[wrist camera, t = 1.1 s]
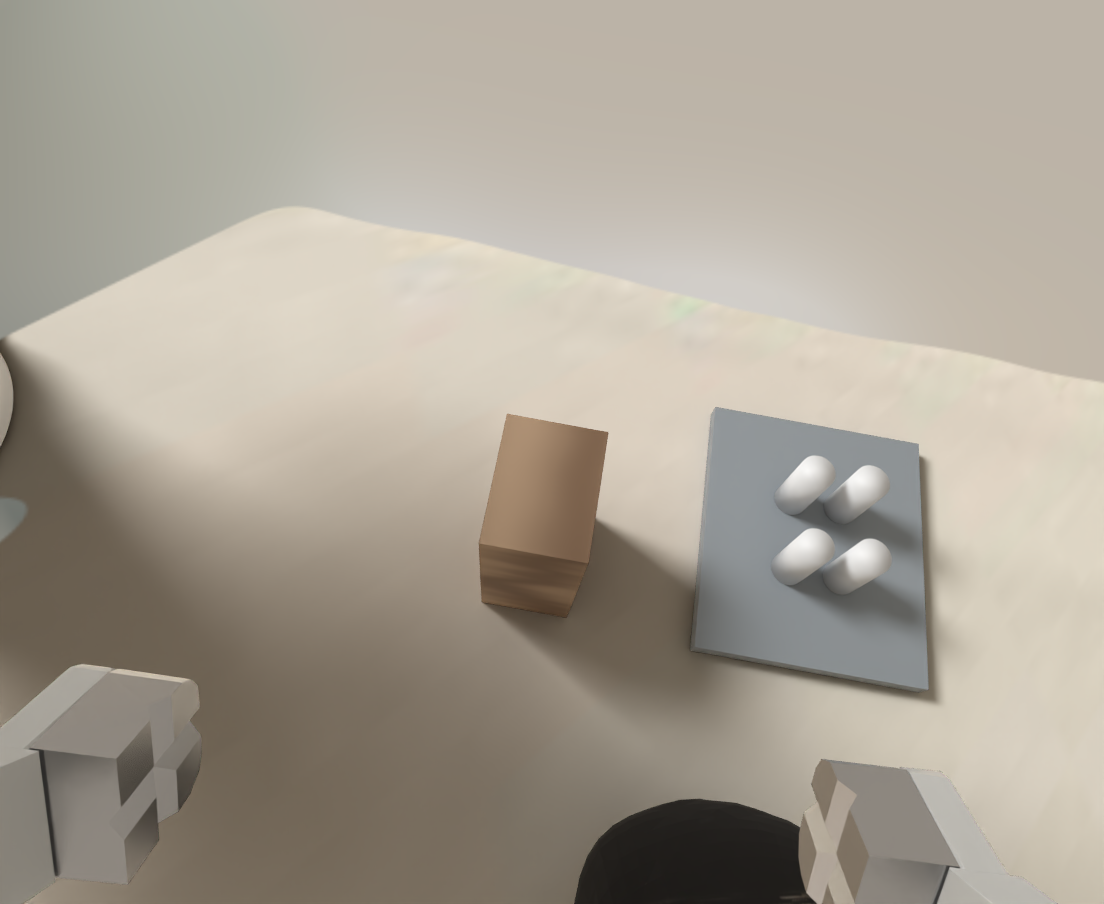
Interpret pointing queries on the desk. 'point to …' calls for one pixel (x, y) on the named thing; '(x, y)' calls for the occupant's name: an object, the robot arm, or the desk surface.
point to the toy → (695, 858)
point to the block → (540, 515)
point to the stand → (812, 551)
